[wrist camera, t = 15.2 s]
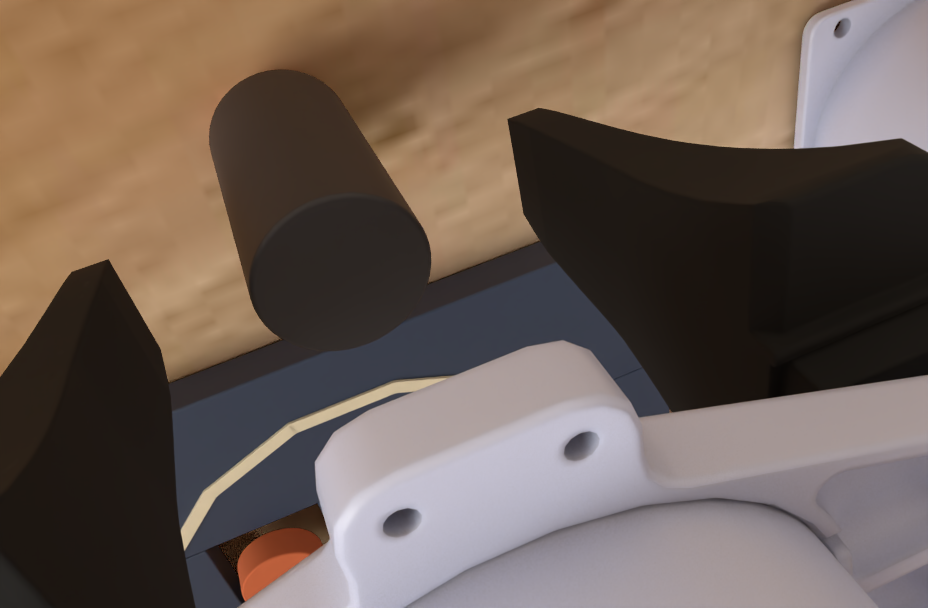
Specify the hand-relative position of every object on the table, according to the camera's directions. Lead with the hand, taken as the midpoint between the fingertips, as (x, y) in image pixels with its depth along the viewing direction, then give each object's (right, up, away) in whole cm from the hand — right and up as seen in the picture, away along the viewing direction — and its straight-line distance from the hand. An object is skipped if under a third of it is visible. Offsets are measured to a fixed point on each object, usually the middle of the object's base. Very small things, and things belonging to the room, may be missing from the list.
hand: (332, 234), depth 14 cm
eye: (-4, -8, +12) cm, 15 cm away
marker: (-2, +3, +4) cm, 6 cm away
